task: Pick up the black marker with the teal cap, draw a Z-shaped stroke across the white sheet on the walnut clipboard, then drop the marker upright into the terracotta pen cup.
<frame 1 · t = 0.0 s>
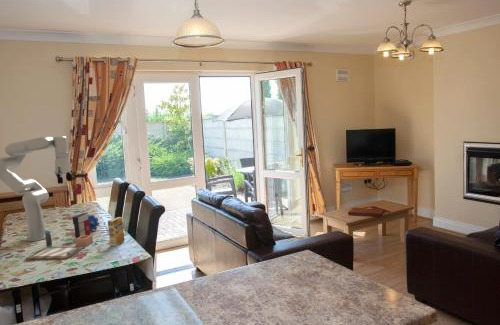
hand: (65, 182, 244), 37 cm above the table, tool pointing down, fingers open, 9 cm apart
candy box: (117, 244, 230), on the table
marker: (49, 246, 232), on the table
grapes: (91, 231, 261), on the table
clipboard: (56, 253, 218), on the table
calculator: (83, 237, 247), on the table
pen cup: (84, 244, 232), on the table
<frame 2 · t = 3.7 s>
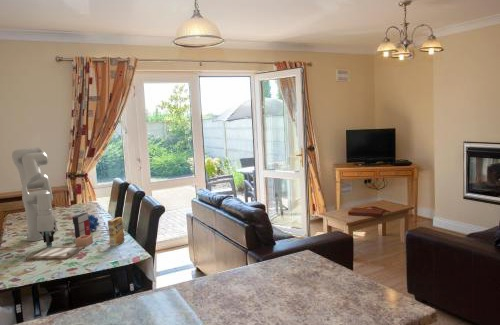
hand: (48, 241, 232), 3 cm above the table, tool pointing down, fingers closed on marker, 3 cm apart
marker: (49, 246, 232), on the table, touching gripper
everything else where it was.
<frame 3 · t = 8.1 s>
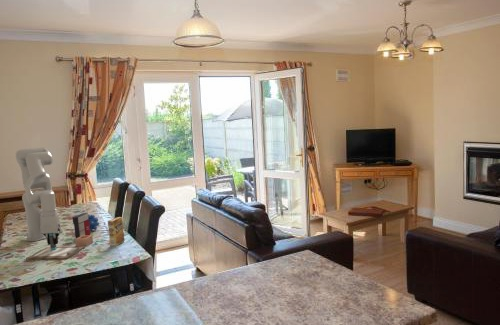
hand: (53, 243, 221), 5 cm above the table, tool pointing down, fingers closed on marker, 3 cm apart
marker: (53, 249, 222), point 1 cm above the table, touching gripper
everything else where it was.
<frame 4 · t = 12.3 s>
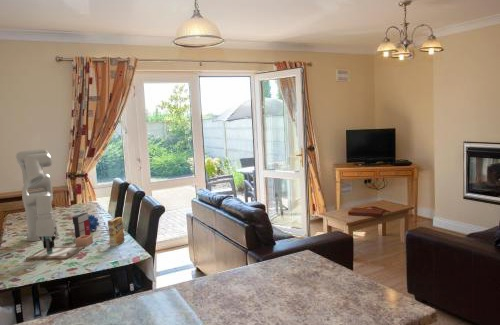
hand: (49, 247, 216), 5 cm above the table, tool pointing down, fingers closed on marker, 3 cm apart
marker: (49, 252, 216), point 1 cm above the table, touching gripper
everything else where it was.
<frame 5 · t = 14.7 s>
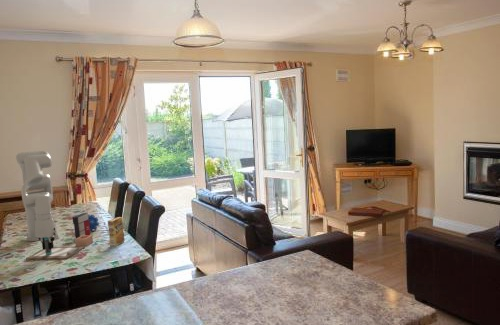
hand: (48, 248, 213), 5 cm above the table, tool pointing down, fingers closed on marker, 3 cm apart
marker: (48, 253, 214), point 1 cm above the table, touching gripper
everything else where it was.
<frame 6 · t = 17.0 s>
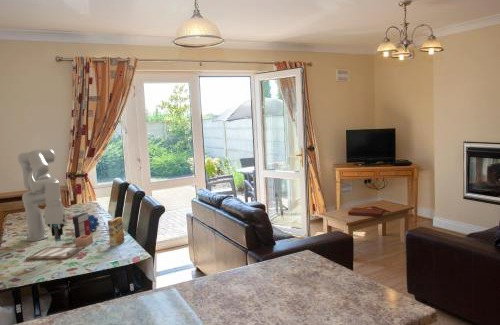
hand: (57, 235, 212), 12 cm above the table, tool pointing down, fingers closed on marker, 3 cm apart
marker: (58, 240, 212), point 9 cm above the table, touching gripper
everything else where it was.
when the fingers open (6 cm above the table, at t = 21.2 s): marker drops 2 cm, resting on pen cup.
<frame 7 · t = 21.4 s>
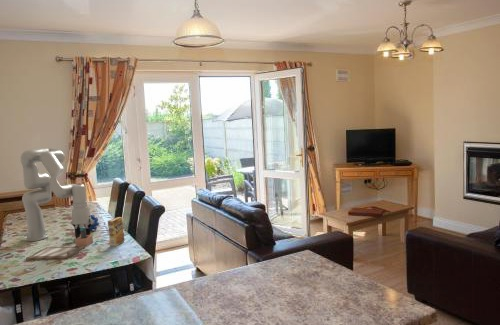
hand: (83, 234, 232), 6 cm above the table, tool pointing down, fingers open, 5 cm apart
marker: (84, 243, 232), point 1 cm above the table, touching pen cup
everything else where it was.
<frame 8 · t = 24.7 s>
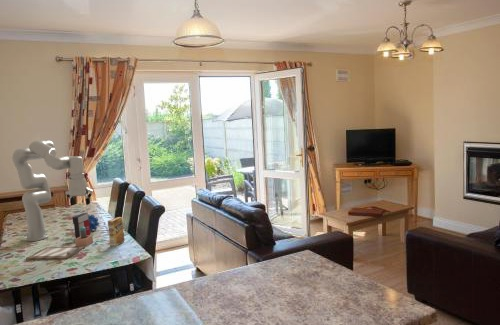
hand: (80, 204, 232), 24 cm above the table, tool pointing down, fingers open, 9 cm apart
nothing on the table moved.
at the end: marker 0.1 cm off-centre on the pen cup, point 0.5 cm above the pen cup's base; marker tilted 1°; the gripper is holding nothing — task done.
